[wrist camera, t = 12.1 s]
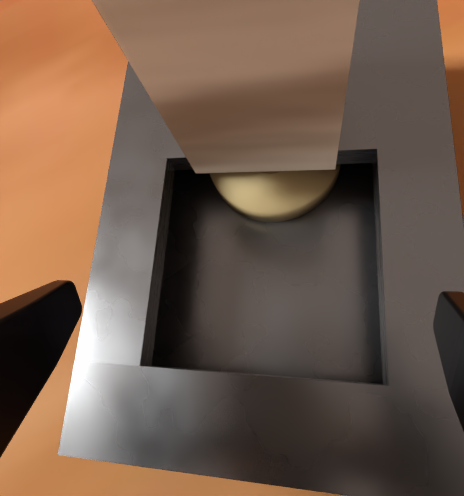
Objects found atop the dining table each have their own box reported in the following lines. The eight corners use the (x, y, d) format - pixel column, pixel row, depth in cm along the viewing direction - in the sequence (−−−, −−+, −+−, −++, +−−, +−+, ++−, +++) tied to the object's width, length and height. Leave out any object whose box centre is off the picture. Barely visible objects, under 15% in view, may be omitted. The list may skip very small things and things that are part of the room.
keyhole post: (341, 222, 16) (451, -235, 4) (207, 222, 17) (-40, -119, 5) (340, 104, 18) (412, -477, 5) (218, 112, 19) (54, -344, 7)
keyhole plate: (442, 470, 13) (497, 517, 10) (119, 431, 16) (57, 454, 12) (408, 69, 19) (435, -10, 15) (166, 90, 21) (134, 28, 17)
